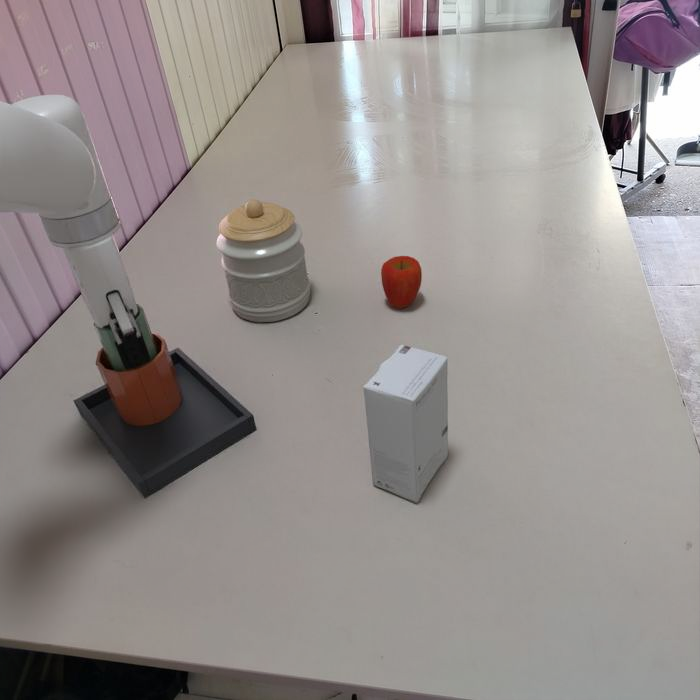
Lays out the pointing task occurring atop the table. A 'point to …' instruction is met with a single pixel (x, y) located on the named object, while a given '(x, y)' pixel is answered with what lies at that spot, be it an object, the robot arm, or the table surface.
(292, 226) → the jar
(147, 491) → the tray
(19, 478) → the table surface
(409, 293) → the apple
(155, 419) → the terracotta cup
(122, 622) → the table surface
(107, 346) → the sage cup
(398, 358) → the cosmetic box
